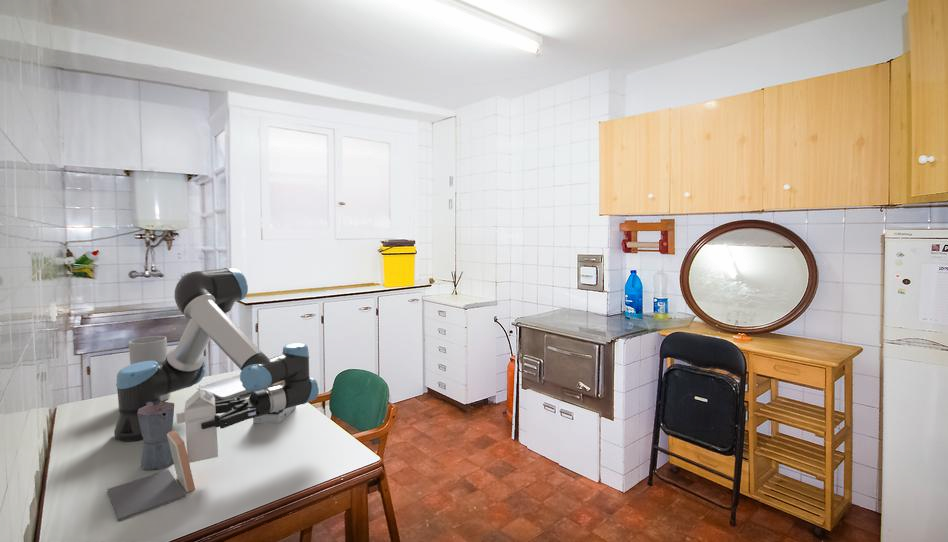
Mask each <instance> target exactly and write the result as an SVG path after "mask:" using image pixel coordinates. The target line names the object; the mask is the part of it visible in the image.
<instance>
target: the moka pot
mask: <svg viewBox="0 0 948 542" xmlns="http://www.w3.org/2000/svg"><path fill="white" fill-rule="evenodd" d="M158 401H159V399H154V400H153V402H149V401H148V400H146V401H145V403H144V407H142V408H140V409H138V413H137V416H138V421H139V425H140V429H141V434H142V437H143V439H142V440H143V443H142V453H141V461H140V467H141V468H142V469H144V470H145V471H155V470H160V469H165V468H167V467H169V466H170V465H172V464H174V463H173V458H172V454H171V450H170V446H169V442H168V438H167V434H168V432H171V431H173V429H174V428H173V427H174V415H175V414H174V413H175V402H169V401H162V402H159V403H158Z"/></svg>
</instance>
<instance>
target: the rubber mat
mask: <svg viewBox="0 0 948 542" xmlns="http://www.w3.org/2000/svg"><path fill="white" fill-rule="evenodd" d="M106 490H108V491H107V494H108V493H109V494H108V497H109V496H110V497H109V499H110V498H111V499H110V502H111V501H112V502H111V504H112V507H113V509H115V510H114V512H115V515H116V517H118V518H117V520H118V522H120V521H123V520H126V519H129V518H131V517H134V516H136V515H140V514H143V513H145V512H148V511H150V510H153V509H157V508H159V507H161V506H165V505H167V504H170V503H173V502H176V501H178V500H181V499H183V498H186V493H185V492H184V491H183V489H182V487H181V485H180V484H179V483H178V481H177V480H176V479H175V477H174V476H173V474H172V472H171V470H170V469H166V470H162V471H160V472H156V473H153V474H150V475H146V476H144V477H141V478H138V479H133V480H132V481H129V482H126V483H122V484H119V485H116V486H113V487H109V488H107V489H106Z"/></svg>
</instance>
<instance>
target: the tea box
mask: <svg viewBox="0 0 948 542" xmlns="http://www.w3.org/2000/svg"><path fill="white" fill-rule="evenodd" d="M283 384H285V381H284V380H283V381H280V382H278V383H275V384H273V385H270V386H268V387H267V388H270V387H274V386H278V385H283ZM265 389H266V388H265ZM265 389H264V390H265ZM261 390H262V389H261ZM257 391H258V390H257ZM252 392H254V391H252ZM252 392H251V393H252ZM295 409H297V406H293V407H290V408H286V409H283V410H279V412H272V413H270V412H269V413H268V414H266V415H262V416H259V417H255V418H252V423H253V424H281V422H282V421H283V420H284V419H285V418H286V417H288V416H289V415H290V414H291V413H292V412H293V411H294V410H295Z"/></svg>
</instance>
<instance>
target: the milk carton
mask: <svg viewBox="0 0 948 542" xmlns="http://www.w3.org/2000/svg"><path fill="white" fill-rule="evenodd" d="M200 386H201V385H200V384H199V385H198V387H199V390H198V389H197V390H196V392H195V393H193V394H192V395H191V396H190V397H189V398H188V399H187V400H186V401H185V404H184V409H183V410H184V411H183V412H185V422H184V423H185V428H186V424H187V423H191V422H195V421H198V420H202V419H206V418H210V417H214V420H215V415H217V414H216V408H215V402H216V397H215V396H214V395H213V394H212V393H211V392H208V391H207V392H205V391H203V390H201V389H200ZM217 428H218V427H215V426H214V427H212V428H209V429H205V430H202V431H198V432H195V433H191V434H188V435H187V434H186V433H185V438H186V439H185V440H186V441H185V442H186V452H187V456H188V460H189V464H190V463H195V462H200V461H205V460H209V459H214V458H218V457H219V447H218V446H219V445H218V429H217Z"/></svg>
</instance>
